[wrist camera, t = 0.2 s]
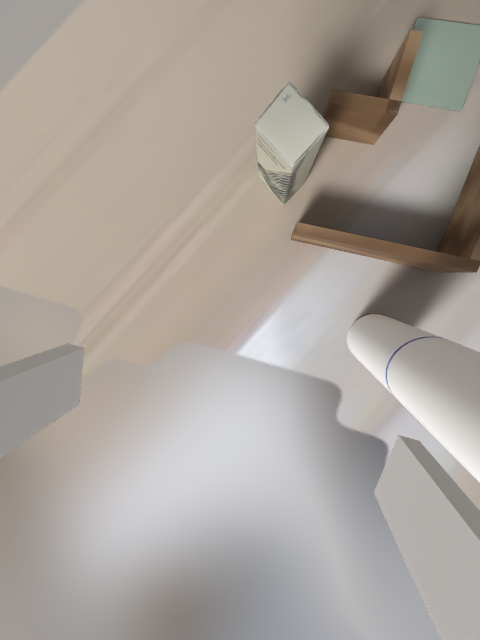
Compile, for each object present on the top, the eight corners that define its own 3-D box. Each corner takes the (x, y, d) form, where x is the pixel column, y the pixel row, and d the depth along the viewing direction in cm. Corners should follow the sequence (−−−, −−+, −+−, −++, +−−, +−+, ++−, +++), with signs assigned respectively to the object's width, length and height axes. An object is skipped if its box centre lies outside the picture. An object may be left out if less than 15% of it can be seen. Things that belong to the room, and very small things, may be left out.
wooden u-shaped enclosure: (334, 71, 30) (350, 21, 24) (509, 98, 28) (572, 52, 22) (290, 239, 34) (294, 232, 28) (439, 272, 32) (476, 272, 26)
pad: (416, 19, 28) (417, 17, 27) (489, 29, 27) (492, 27, 27) (391, 100, 29) (392, 98, 29) (459, 111, 29) (461, 109, 28)
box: (257, 179, 33) (248, 122, 21) (281, 152, 32) (287, 75, 20) (284, 207, 33) (292, 168, 21) (309, 181, 32) (332, 123, 20)
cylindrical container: (362, 305, 34) (580, 385, 10) (409, 326, 34) (750, 461, 10) (337, 348, 36) (473, 507, 12) (382, 369, 36) (616, 575, 11)
